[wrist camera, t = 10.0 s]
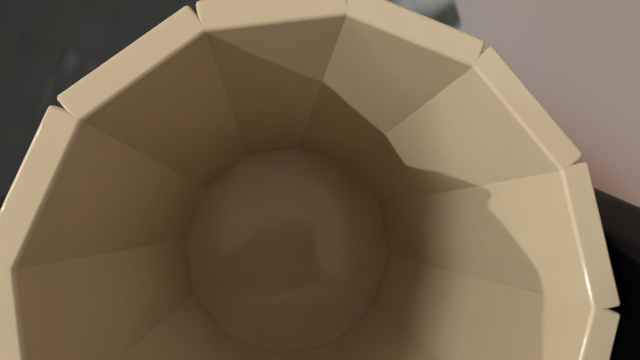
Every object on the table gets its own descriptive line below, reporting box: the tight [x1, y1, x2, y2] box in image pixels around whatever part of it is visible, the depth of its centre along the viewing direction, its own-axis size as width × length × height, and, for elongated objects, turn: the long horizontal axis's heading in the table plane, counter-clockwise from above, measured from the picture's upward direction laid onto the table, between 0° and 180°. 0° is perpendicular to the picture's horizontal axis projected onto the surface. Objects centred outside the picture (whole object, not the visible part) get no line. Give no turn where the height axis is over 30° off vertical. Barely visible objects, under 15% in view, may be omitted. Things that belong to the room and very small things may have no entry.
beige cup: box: [0, 0, 620, 360], centre depth 9 cm, size 7×7×10 cm
